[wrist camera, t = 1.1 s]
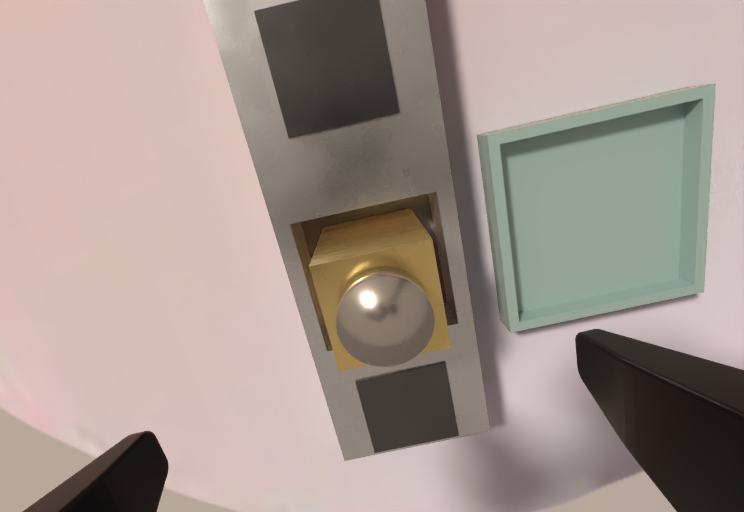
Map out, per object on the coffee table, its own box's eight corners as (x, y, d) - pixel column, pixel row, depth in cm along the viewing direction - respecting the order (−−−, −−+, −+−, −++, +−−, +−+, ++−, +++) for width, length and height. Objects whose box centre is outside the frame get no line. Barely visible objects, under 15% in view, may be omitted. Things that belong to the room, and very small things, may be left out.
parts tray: (687, 87, 18) (715, 83, 17) (680, 281, 21) (703, 292, 20) (477, 135, 18) (487, 135, 17) (500, 319, 21) (510, 332, 20)
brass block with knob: (410, 207, 19) (439, 249, 13) (425, 288, 21) (459, 365, 14) (323, 227, 20) (304, 278, 13) (343, 306, 21) (337, 391, 14)
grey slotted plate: (399, -81, 16) (407, -121, 13) (476, 400, 23) (491, 432, 21) (209, -35, 16) (182, -65, 13) (345, 427, 23) (344, 462, 21)
